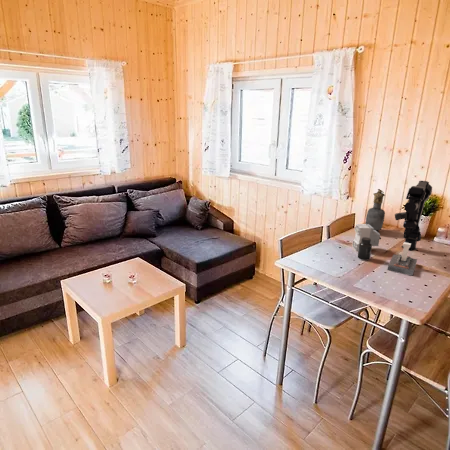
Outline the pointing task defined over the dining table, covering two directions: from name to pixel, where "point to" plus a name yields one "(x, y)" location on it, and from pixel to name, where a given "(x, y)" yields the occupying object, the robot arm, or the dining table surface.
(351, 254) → the dining table surface
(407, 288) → the dining table surface
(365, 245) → the supplement bottle
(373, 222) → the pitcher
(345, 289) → the dining table surface
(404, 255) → the handle
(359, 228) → the circuit breaker
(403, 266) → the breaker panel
